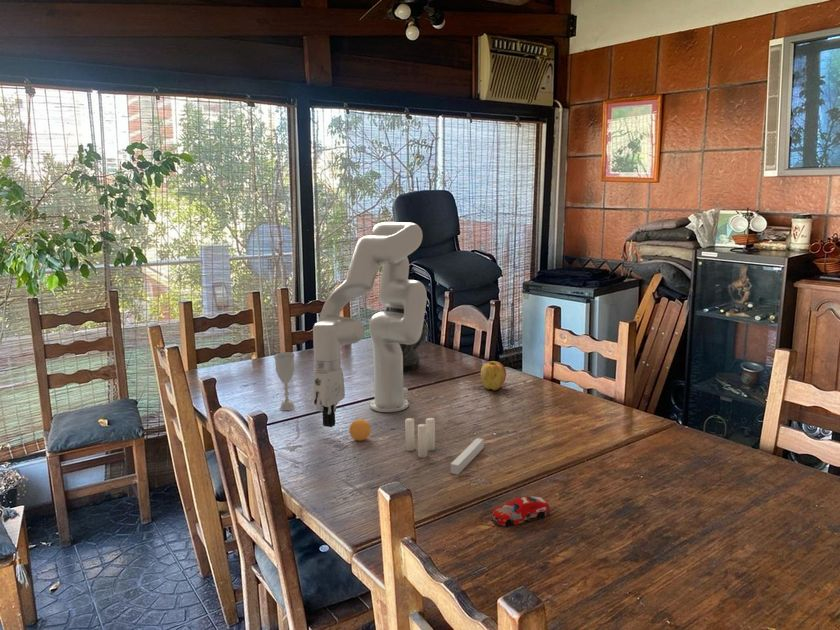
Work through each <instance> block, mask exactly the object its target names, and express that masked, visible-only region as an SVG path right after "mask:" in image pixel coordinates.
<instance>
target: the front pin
mask: <svg viewBox="0 0 840 630" xmlns="http://www.w3.org/2000/svg"><path fill="white" fill-rule="evenodd" d="M404 419H405V418H404ZM404 422H405V423H404V425H405V429H404V431H405V450H406V451H408V452H412V451H414V450H415V419H414V418H411V417H408V418H406V419H405V420H404Z"/></svg>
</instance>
